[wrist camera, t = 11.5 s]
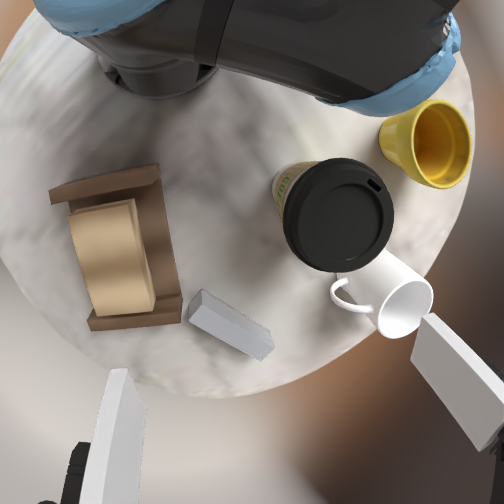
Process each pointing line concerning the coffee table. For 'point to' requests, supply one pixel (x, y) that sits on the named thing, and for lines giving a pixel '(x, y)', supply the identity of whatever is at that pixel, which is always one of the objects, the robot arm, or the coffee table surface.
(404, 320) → the mug
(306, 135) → the coffee table surface
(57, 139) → the coffee table surface
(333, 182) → the coffee cup
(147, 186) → the cradle
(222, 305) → the wedge
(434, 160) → the plant pot
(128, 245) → the board
